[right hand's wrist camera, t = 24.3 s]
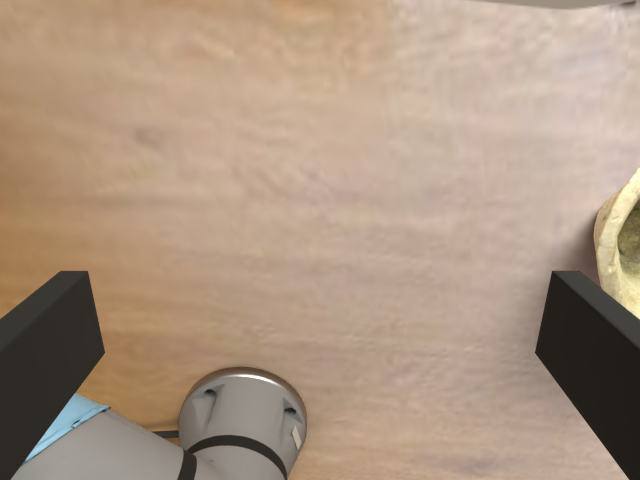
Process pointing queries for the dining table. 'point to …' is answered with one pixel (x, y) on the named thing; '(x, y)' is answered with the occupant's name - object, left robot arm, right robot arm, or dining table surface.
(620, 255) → the bowl
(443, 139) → the dining table surface
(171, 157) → the dining table surface
